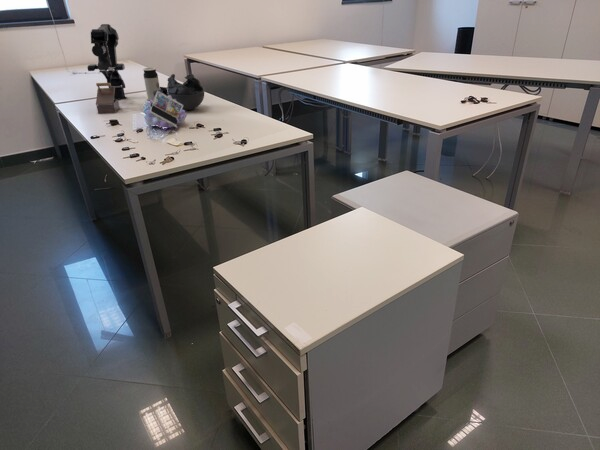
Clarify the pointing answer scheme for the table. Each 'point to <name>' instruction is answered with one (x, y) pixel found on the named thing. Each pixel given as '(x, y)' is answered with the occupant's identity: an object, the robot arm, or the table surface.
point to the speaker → (162, 89)
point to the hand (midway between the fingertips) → (109, 83)
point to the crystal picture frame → (163, 111)
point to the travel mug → (151, 82)
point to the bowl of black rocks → (186, 91)
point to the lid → (105, 94)
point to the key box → (108, 107)
